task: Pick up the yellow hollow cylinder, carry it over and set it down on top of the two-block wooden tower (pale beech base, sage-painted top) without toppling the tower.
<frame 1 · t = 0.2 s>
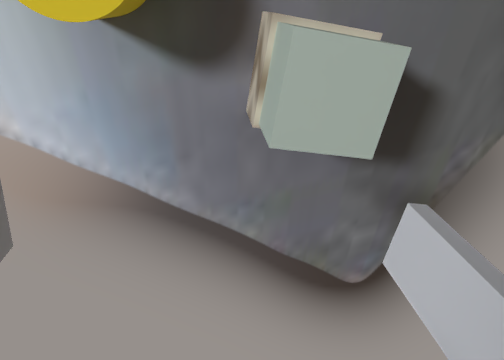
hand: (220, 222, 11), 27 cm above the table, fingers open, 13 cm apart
base block: (299, 70, 36), on the table, touching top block
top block: (314, 83, 31), point 6 cm above the table, touching base block
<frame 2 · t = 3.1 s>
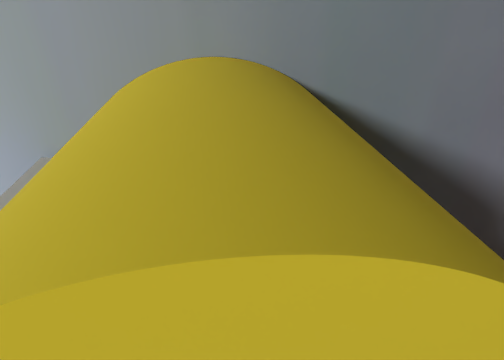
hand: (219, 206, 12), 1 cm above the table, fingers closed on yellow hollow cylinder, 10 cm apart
yellow hollow cylinder: (218, 192, 13), on the table, touching gripper
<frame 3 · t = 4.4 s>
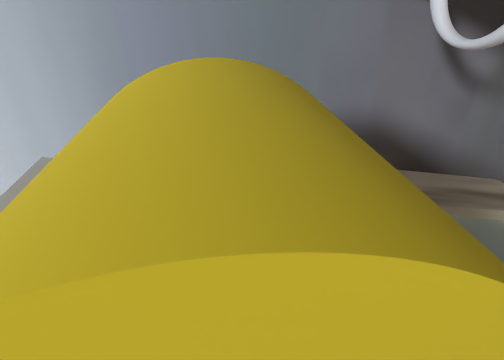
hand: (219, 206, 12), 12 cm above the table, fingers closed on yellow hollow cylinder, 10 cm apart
base block: (422, 223, 30), on the table, touching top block
yellow hollow cylinder: (218, 192, 13), point 11 cm above the table, touching gripper
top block: (469, 271, 25), point 6 cm above the table, touching base block
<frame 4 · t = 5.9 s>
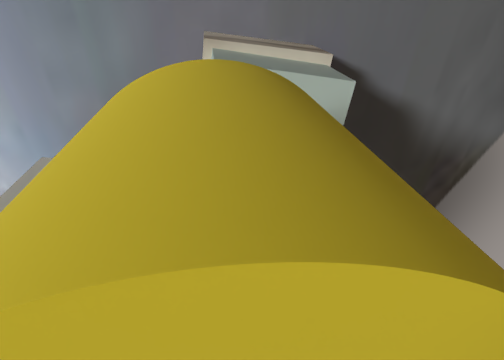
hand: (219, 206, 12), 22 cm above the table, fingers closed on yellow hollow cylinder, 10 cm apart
base block: (252, 92, 33), on the table, touching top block
yellow hollow cylinder: (217, 194, 13), point 21 cm above the table, touching gripper
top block: (261, 113, 28), point 6 cm above the table, touching base block
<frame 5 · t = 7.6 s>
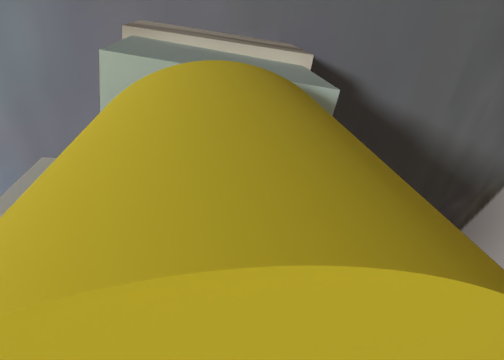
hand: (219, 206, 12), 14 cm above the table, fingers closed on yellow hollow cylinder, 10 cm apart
base block: (211, 104, 25), on the table, touching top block
yellow hollow cylinder: (218, 195, 13), point 13 cm above the table, touching gripper
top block: (210, 131, 20), point 6 cm above the table, touching base block
when the fingers open (14 cm above the table, at t = 8.1 s): yellow hollow cylinder drops 2 cm, resting on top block.
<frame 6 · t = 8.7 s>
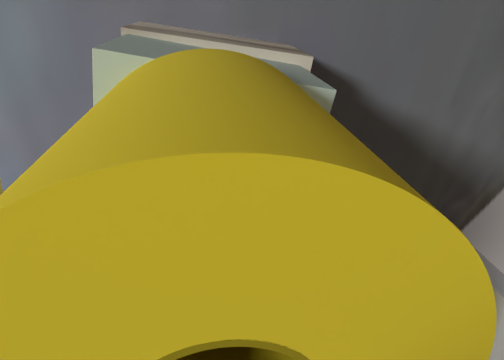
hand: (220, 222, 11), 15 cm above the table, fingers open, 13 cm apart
base block: (210, 106, 25), on the table, touching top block
yellow hollow cylinder: (212, 172, 14), point 12 cm above the table, touching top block
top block: (206, 131, 20), point 6 cm above the table, touching base block, yellow hollow cylinder
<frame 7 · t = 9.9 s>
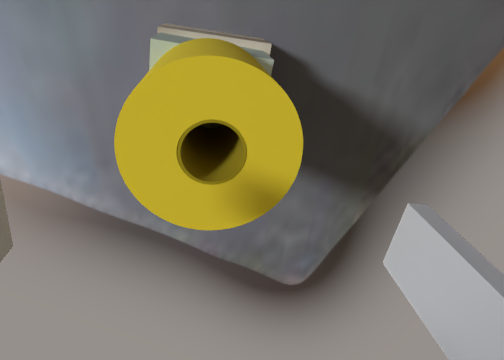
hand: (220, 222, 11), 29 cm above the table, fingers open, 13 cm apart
base block: (210, 79, 37), on the table, touching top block
yellow hollow cylinder: (209, 106, 27), point 12 cm above the table, touching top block
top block: (206, 92, 32), point 6 cm above the table, touching base block, yellow hollow cylinder
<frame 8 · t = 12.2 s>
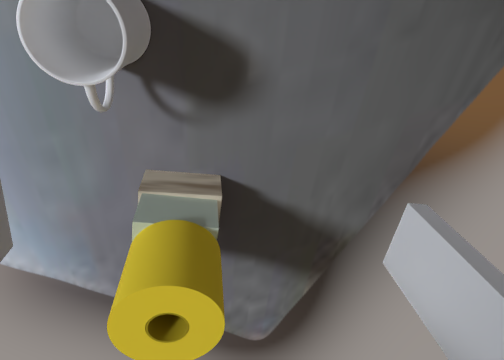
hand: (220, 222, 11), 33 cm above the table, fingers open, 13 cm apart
base block: (181, 203, 49), on the table, touching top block
yellow hollow cylinder: (175, 255, 38), point 12 cm above the table, touching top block
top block: (177, 226, 43), point 6 cm above the table, touching base block, yellow hollow cylinder
mug: (111, 40, 38), on the table
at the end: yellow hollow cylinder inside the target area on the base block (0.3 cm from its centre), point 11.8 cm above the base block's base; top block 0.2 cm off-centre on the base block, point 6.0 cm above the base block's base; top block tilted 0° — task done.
